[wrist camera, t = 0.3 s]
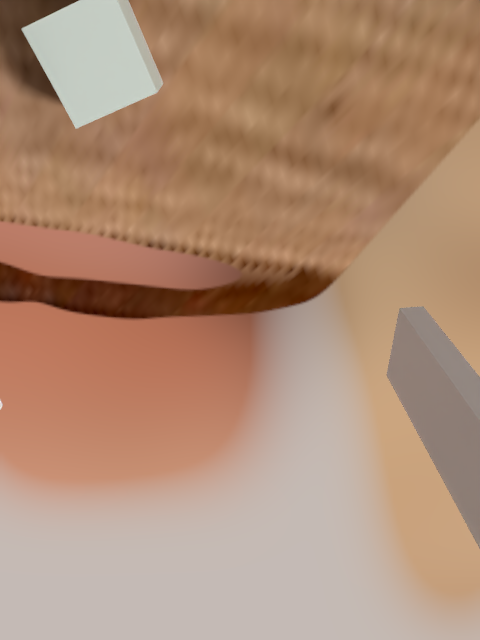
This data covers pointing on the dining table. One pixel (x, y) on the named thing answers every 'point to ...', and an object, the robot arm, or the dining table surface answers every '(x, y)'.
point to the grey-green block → (94, 57)
